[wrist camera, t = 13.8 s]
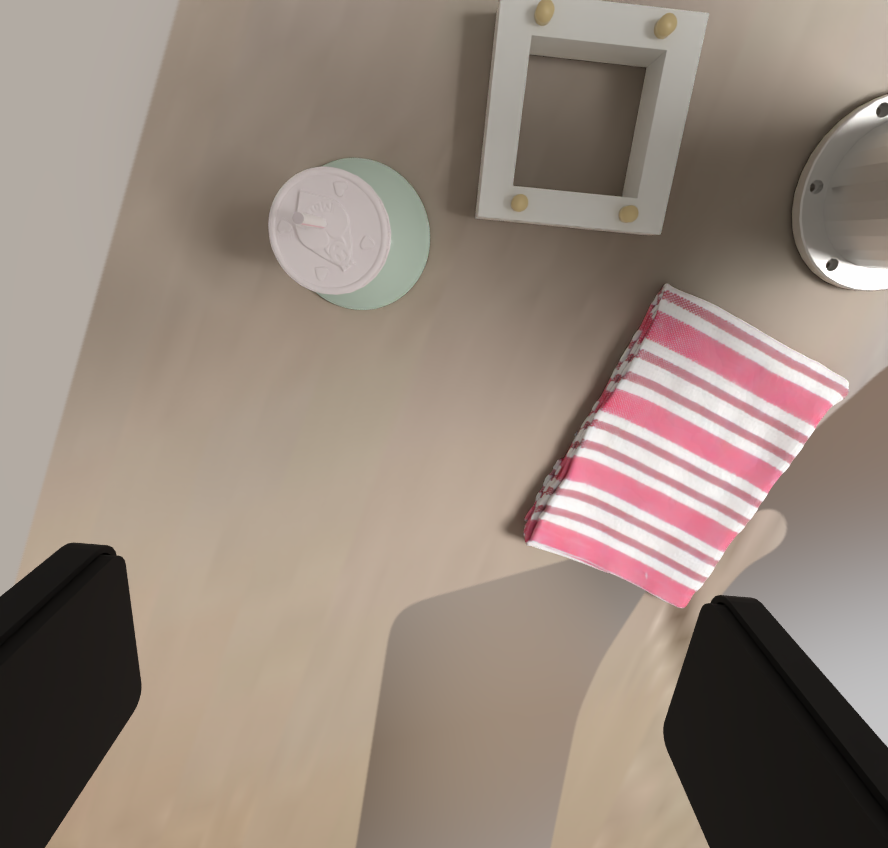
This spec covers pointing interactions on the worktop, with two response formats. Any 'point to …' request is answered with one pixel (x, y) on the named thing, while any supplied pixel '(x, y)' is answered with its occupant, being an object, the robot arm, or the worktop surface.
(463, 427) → the worktop surface
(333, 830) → the worktop surface
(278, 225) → the smoothie
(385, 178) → the coaster
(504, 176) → the socket block
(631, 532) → the dish towel
